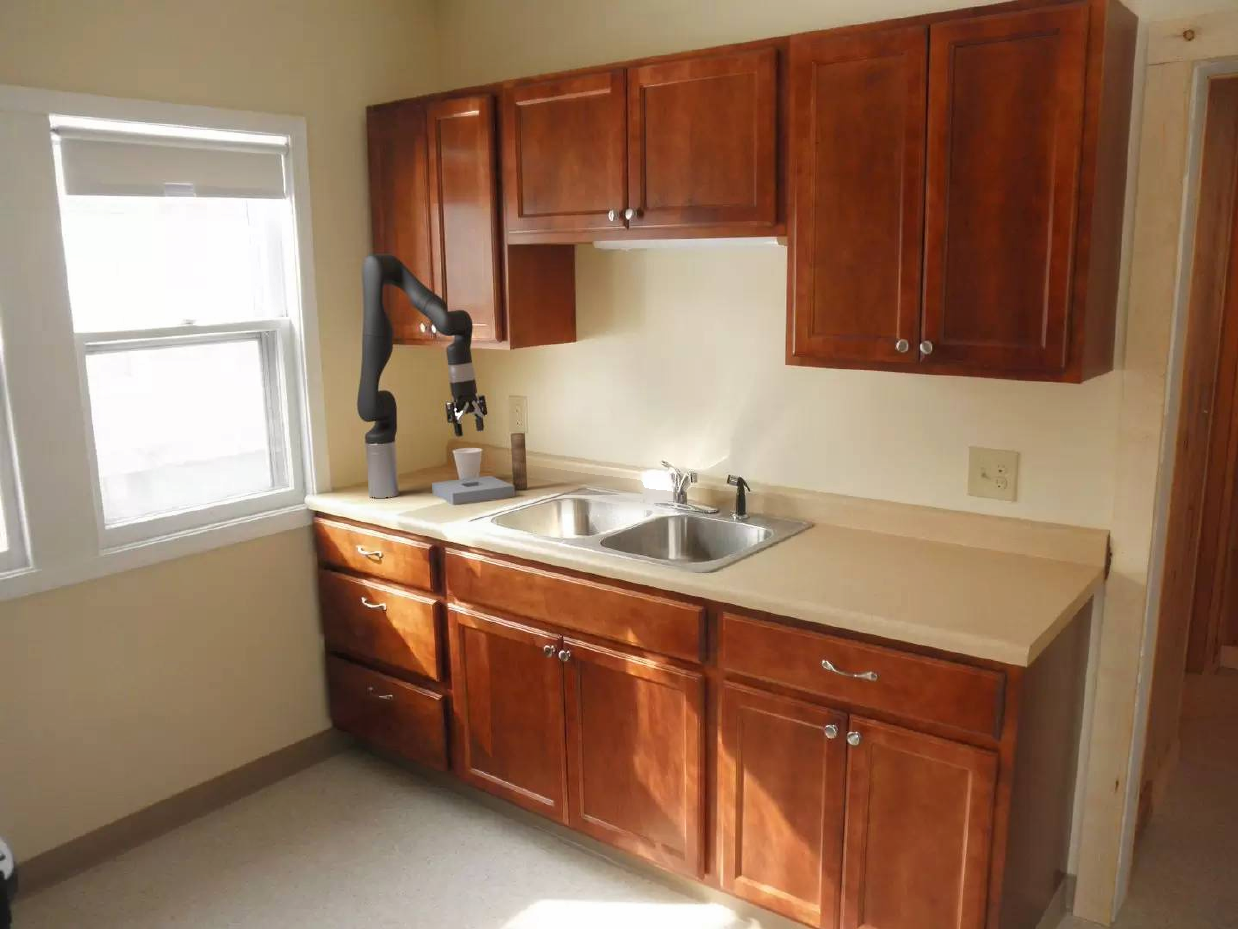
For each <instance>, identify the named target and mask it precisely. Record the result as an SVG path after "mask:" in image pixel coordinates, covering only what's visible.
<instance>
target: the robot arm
mask: <svg viewBox="0 0 1238 929" xmlns="http://www.w3.org/2000/svg"><path fill="white" fill-rule="evenodd" d="M361 282H362V298H363V307H362V308H363V309H362V311H363V316H362V317H363V321H362V322H363V324H362V336H361V345H362V346H361V347H362V348H361V366H360V367H361V368H360V378H359V387H358V391H357V393H358V394H357V398H356V400H357V402H356V407H357V408H356V409H357V413H358V415H359V417H360V419H361V420H362V421H363V422H365V423H374V425H373V427H372V428H371V429H370V430H368V432H366V433H365V435H364V441H365V444H364V445H365V455H366V457H365V459H366V471H367V483H368V484H367V486H368V487H367V488H368V496H369V498H372V497H373V499H387V498H386V497H388V498H393V497H397V496H399V495H400V492H399V491H400V490H399V478H398V477H399V476H398V461H397V460H398V459H397V448H396V447H397V445H396V444H397V443H396V435H397V432H398V416H397V414H398V412H397V409H398V408H397V401H396V399H395V396H394V394H393V393H392V392H391V391H389V390H385V389H384V390H379V387H380V386H379V385H380V379H381V376H382V374H383V371H384V370H385V367H386V366H387V364H388V362H389V361H390V358H391V356H392V353H393V351H394V350H393V348H394V327H393V324H392V321H391V319H390V317H389V315H388V313H387V311H386V307H385V306H384V298H383V296H384V294H383V293H384V292H383V291H384V289H383V288H384V286H394V287H396V288H399V289H400V290H401V291H403V292H404V293H405V294H406V295H407V298H408V300H409V302H410V304H411V305H412V306H413V308H415V309H416V310H417V311H418V312H419V313H421V314H422V315H423V316H425V317H426V318H427V319H428V320H429V321H430V323H431V324H432V325H433V327H434V329H435V330H436V331H437V332H438V333H440V334H441V335H443V336H446V337H453V336H454V337H453V342H452V343H451V344H448V346H446V357H447V366H448V379H449V380H448V381H449V386H450V392H451V393H450V394H451V396H452V397H453V402H452V401H449V402H446V403H445V412H446V421H447V423H448V424H449V423H450V424H453V428H454V434H455V436H456V437H463V435H464V432H463V426H462V424H463V423H461V422H462V421H463V420H462V419H463V418H464V417H465V415H468V414H472V415H473V416H474V417H475V418H474V419H475V420H474V421H475V428H476V431H477V432H482V431H484V429H485V428H484V427H485V425H484V417H485V416H488V407H487V402H486V397H485V395H483V394H480V395H479V394H478V387H477V382H476V373H475V372H476V371H475V368H474V365H473V359H472V352H471V345H472V339H473V326H474V324H473V320H472V317H471V316H470V314H469V312H467V311H466V310H463V309H457V310H452V311H450V310H449V311H448V304H447V301H445V300H444V299H443V298H441V297H440V295H438V294H437V293H435V292H434V291H433V290H431V289H430V288H429V287H427V286H426V285H425V284H424V283H422V282H421V281H420V280H419V279H418V278H417V277H416V275H415V274H414V273H412V271H411V270H410V269H408V267H407V266H406V265H405V264H404V263H403V262H402V261H401V260H400V259H399V258H398V257H397V256H395V255H393V254H389V253H386V254H385V253H383V254H382V253H380V254H379V253H377V254H376V253H372V254H368V255H367V256H366V257H365V258H364V259H363V262H362V267H361ZM374 497H375V498H374Z"/></svg>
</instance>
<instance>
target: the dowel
mask: <svg viewBox="0 0 1238 929" xmlns="http://www.w3.org/2000/svg"><path fill="white" fill-rule="evenodd" d="M510 445H511V446H510V448H511V468H512V469H511V471H512V485H514V488H515V491H518V492H519V491H520V492H521V491H527V490H528V477H527V454H526V452H527V451H526V449H527V448H526V433H525V432H514V433H511V434H510Z"/></svg>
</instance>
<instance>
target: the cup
mask: <svg viewBox="0 0 1238 929" xmlns="http://www.w3.org/2000/svg"><path fill="white" fill-rule="evenodd" d="M483 451H484V450H483V448H480V447H479V448H477V447H465V448H457V449H453V450H452V453H453V457H454V462H455V465H456V471H457V476H458V478H459V479H458V480H460V479H468V478H477V477H480V470H481V461H482V455H483V453H482V452H483Z"/></svg>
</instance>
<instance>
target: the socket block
mask: <svg viewBox="0 0 1238 929" xmlns="http://www.w3.org/2000/svg"><path fill="white" fill-rule="evenodd" d="M431 488H432V489H431V490H432V492H431V493H434V494H435V496H436V495H437V496H436V497H438V498H440V497H441V498H440V499H442V498H443V499H444V500H443V499H442V500H443V501H445V500H446V502H447V503H449V504H451V503H452V504H451V505H452V506H455V505H454V504H457V505H462V504H461V503H464V504H471V503H479V502H487V501H492V500H491V499H495V500H500V499H499V498H503V499H507V498H506V497H510V498H515V496H516V492H515V488H514V485H513V484H511V483H509V482H506V481H504V480H502V479H500V478H497V477H495V476H492V475H488V476H479V477H477V478H468V479H460V480H459V479H452V480H445V481H444V480H443V481H435V482H431ZM434 494H433V495H434ZM486 500H487V501H486Z"/></svg>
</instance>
